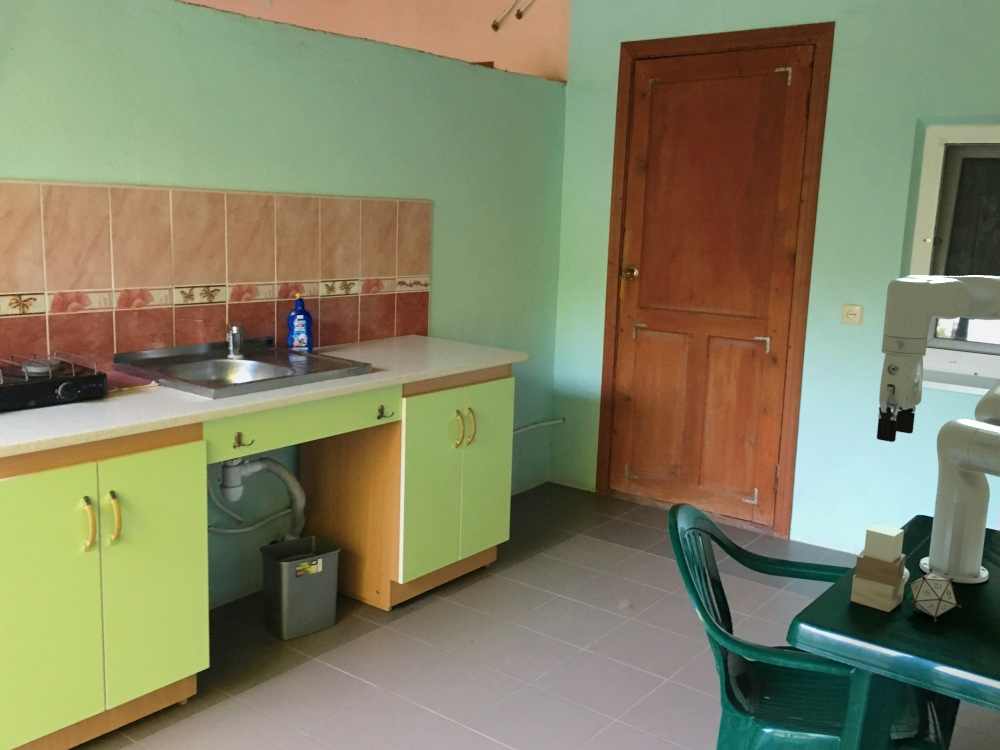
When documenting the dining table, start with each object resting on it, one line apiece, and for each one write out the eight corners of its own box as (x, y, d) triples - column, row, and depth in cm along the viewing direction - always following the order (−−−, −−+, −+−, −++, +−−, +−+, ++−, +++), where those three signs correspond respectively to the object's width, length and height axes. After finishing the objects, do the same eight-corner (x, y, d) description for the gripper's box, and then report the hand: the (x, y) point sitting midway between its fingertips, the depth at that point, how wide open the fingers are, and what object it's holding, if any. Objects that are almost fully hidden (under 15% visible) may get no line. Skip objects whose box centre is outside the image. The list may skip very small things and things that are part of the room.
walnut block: (864, 566, 177) (866, 546, 176) (903, 575, 173) (905, 554, 172) (854, 577, 171) (857, 556, 171) (895, 586, 167) (897, 565, 167)
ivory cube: (901, 556, 172) (903, 530, 171) (891, 562, 168) (894, 536, 167) (873, 549, 175) (876, 523, 174) (863, 555, 171) (866, 529, 170)
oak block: (864, 591, 178) (867, 566, 177) (902, 601, 173) (905, 576, 172) (850, 601, 173) (853, 575, 172) (888, 612, 168) (891, 586, 167)
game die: (920, 630, 170) (916, 576, 174) (970, 627, 164) (964, 572, 169) (901, 617, 164) (897, 562, 169) (951, 614, 159) (945, 557, 163)
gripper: (909, 352, 162) (899, 447, 165) (939, 344, 175) (930, 432, 178) (866, 347, 167) (857, 440, 170) (898, 339, 180) (890, 426, 183)
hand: (894, 436), depth 174 cm, fingers open, 9 cm apart
